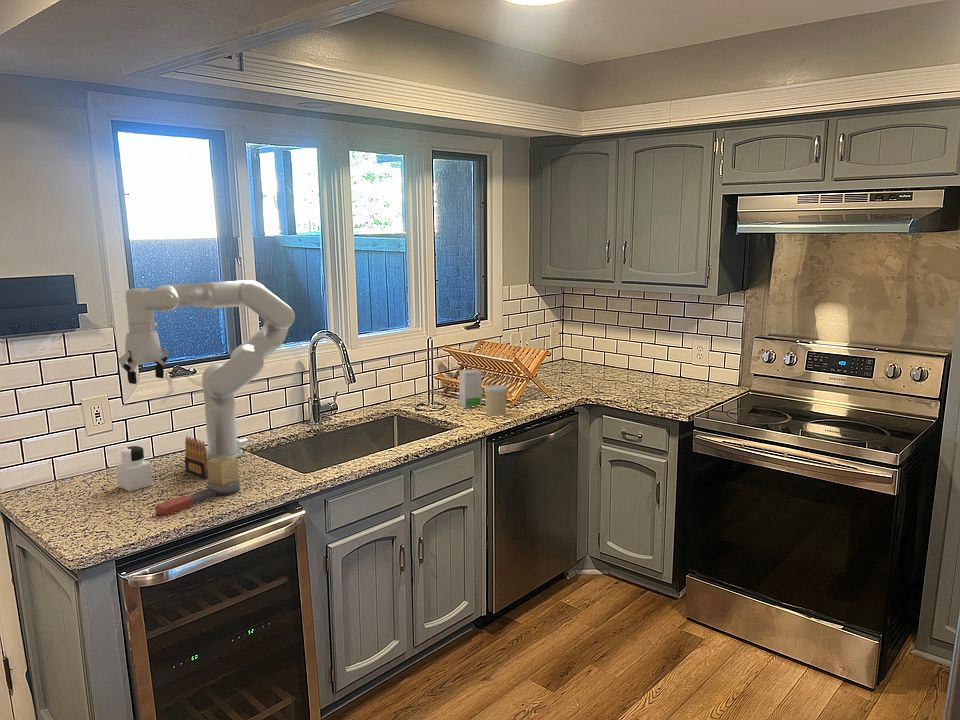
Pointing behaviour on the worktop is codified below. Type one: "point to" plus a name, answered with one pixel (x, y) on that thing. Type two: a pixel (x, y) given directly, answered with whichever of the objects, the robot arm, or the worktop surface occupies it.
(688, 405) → the worktop surface
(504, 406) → the coffee cup
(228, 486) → the ratchet
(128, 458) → the medicine bottle
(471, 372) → the skincare box
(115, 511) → the worktop surface
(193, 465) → the ammunition clip
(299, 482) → the worktop surface
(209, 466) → the wooden block
